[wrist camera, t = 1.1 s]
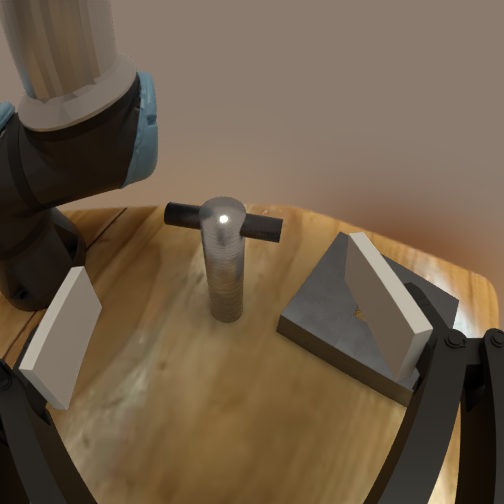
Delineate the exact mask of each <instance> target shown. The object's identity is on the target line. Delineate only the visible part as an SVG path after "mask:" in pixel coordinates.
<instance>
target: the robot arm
mask: <svg viewBox="0 0 504 504" xmlns="http://www.w3.org/2000/svg"><path fill="white" fill-rule="evenodd" d="M0 20H1V24H2V27H3V30H4V34H5V37H6V40H7V43H8V46H9V49H10V52H11V54H12V58H13V60H14V63H15V66H16V68H17V71H18V74H19V76H20V79H21V81H22V84H23V86H24V89H25V92H24V94H23V96H22V99H21V101H20V104H19V107H18V112H17V113H15V112H14V111H15V107H14V106H13V105H12V104H11V103H10V102H5V103H0V290H1V292H2V294H3V295H4V296H5V297H6V299H7V300H8V301H9V302H10V303H11V304H12V305H13V306H15V307H16V308H18V309H21V310H24V311H36V310H40V309H43V308H46V307H48V306H49V308H48V310H47V312H46V313H45V315H44V317H43V319H42V321H41V323H40V324H38V325H37V326H36V327H35V328H34V329H33V330H32V331H31V332H30V334H29V336H28V338H27V340H26V341H27V342H25V344H24V346H23V349H22V350H21V353H20V355H19V357H18V359H17V361H16V363H15V366H14V368H13V370H11V368H10V367H9V366H8V365H7V363H6V362H5V361H4V360H3V359H0V504H30V502H31V504H97V502H96V501H95V499H94V497H93V496H92V494H91V493H90V491H89V489H88V488H87V486H86V484H85V483H84V481H83V479H82V478H81V476H80V474H79V472H78V471H77V469H76V467H75V465H74V463H73V462H72V460H71V458H70V456H69V454H68V452H67V450H66V448H65V446H64V444H63V442H62V440H61V438H60V436H59V433H58V431H57V429H56V427H55V425H54V422H53V420H52V418H51V415H50V413H49V411H48V410H47V408H46V407H45V406H46V403H47V402H48V403H49V404H50V405H51V406H52V407H53V408H54V409H60V410H68V408H69V404H70V400H71V397H72V394H73V390H74V387H75V383H76V380H77V377H78V374H79V371H80V368H81V365H82V361H83V358H84V356H85V353H86V350H87V347H88V344H89V341H90V338H91V336H92V333H93V330H94V327H95V325H96V322H97V319H98V317H99V314H100V312H101V309H102V306H101V304H100V302H99V300H98V298H97V295H96V293H95V291H94V289H93V286H92V284H91V282H90V280H89V277H88V275H87V273H86V270H85V268H84V263H85V258H86V246H85V242H84V240H83V238H82V236H81V234H80V232H79V230H78V228H77V227H76V226H75V224H74V223H72V222H71V221H70V220H69V219H68V218H67V217H66V216H65V215H63V214H62V213H61V212H60V211H59V210H58V209H57V208H56V206H59V205H63V204H66V203H69V202H72V201H76V200H79V199H83V198H86V197H90V196H93V195H97V194H100V193H104V192H107V191H111V190H115V189H122V188H124V187H126V186H127V185H129V184H132V183H135V182H138V181H141V180H144V179H146V178H148V177H149V176H150V175H151V174H152V173H153V171H154V170H155V167H156V164H157V156H158V155H157V154H158V128H157V122H156V118H157V116H156V97H155V89H154V83H153V80H152V77H151V75H150V74H149V73H147V72H137V71H136V65H135V62H134V61H133V59H132V58H131V57H129V56H128V55H126V54H124V53H122V52H119V51H117V50H116V44H115V38H114V30H113V21H112V13H111V4H110V0H0ZM344 280H345V282H346V284H347V286H348V288H349V290H350V292H351V294H352V295H353V297H354V299H355V301H356V303H357V305H358V307H359V309H360V311H361V313H362V315H363V317H364V319H365V321H366V323H367V325H368V327H369V329H370V331H371V333H372V335H373V337H374V339H375V341H376V343H377V345H378V347H379V349H380V351H381V353H382V355H383V357H384V359H385V362H386V364H387V366H388V368H389V370H390V372H391V374H392V377H393V379H394V381H398V380H401V379H404V378H407V377H410V376H412V374H413V372H414V370H415V368H416V369H417V370H418V372H419V374H420V375H419V377H418V378H417V380H416V382H415V384H414V386H413V388H412V390H413V393H412V396H411V399H410V402H409V405H408V408H407V410H406V413H405V416H404V418H403V421H402V423H401V426H400V428H399V431H398V433H397V436H396V438H395V440H394V443H393V445H392V447H391V450H390V452H389V454H388V456H387V458H386V460H385V463H384V465H383V467H382V469H381V471H380V473H379V475H378V477H377V479H376V481H375V483H374V485H373V487H372V488H371V490H370V492H369V494H368V496H367V498H366V499H365V501H364V503H363V504H427V503H428V501H429V499H430V496H431V494H432V491H433V489H434V486H435V484H436V481H437V478H438V476H439V473H440V470H441V467H442V464H443V461H444V458H445V455H446V452H447V449H448V445H449V442H450V439H451V435H452V431H453V428H454V424H455V420H456V416H457V411H458V407H459V403H460V409H461V435H460V459H459V472H458V482H457V491H456V499H455V504H504V332H503V331H501V330H499V329H496V328H492V329H489V330H487V331H486V333H485V335H484V337H483V338H466V336H465V335H464V334H463V333H462V332H460V331H458V330H456V329H449V328H448V326H447V325H446V323H445V322H444V320H443V319H442V317H441V316H440V315H439V313H438V312H437V310H436V309H435V308H434V306H433V305H431V302H430V301H429V299H427V297H426V295H425V294H424V293H423V291H422V290H421V289H420V288H419V287H417V286H416V285H414V284H413V283H412V282H409V283H404V284H402V282H401V281H400V280H399V278H398V277H397V276H396V274H395V273H394V272H393V270H392V269H391V268H390V266H389V265H388V264H387V262H386V261H385V260H384V258H383V257H382V256H381V254H380V253H379V252H378V250H377V249H376V248H375V247H374V245H373V244H372V243H371V242H370V240H369V239H368V238H367V236H366V235H365V234H364V233H363V232H359V233H350V234H349V235H348V247H347V257H346V267H345V276H344Z"/></svg>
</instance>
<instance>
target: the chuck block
mask: <svg viewBox="0 0 504 504" xmlns="http://www.w3.org/2000/svg"><path fill="white" fill-rule="evenodd" d="M347 247H348V235H346V234H344V233H342V232H339V234H338V235H337V237H336V238H335V240H334V241H333V242H332V244H331V245H330V247H329V248H328V250H327V251H326V253H325V254H324V255H323V257H322V258H321V260H320V261H319V263H318V264H317V265H316V267H315V268H314V270H313V271H312V272H311V274H310V275H309V277H308V278H307V279H306V281H305V282H304V284H303V285H302V286H301V288H300V289H299V290H298V292H297V293H296V295H295V296H294V297H293V299H292V300H291V301H290V303H289V304H288V305H287V307H286V308H285V309H284V311H283V312H282V313H281V315H280V319H279V323H278V326H277V330H276V331H277V332H279V333H280V334H282V335H283V336H285V337H287V338H288V339H290V340H291V341H293V342H295V343H296V344H298V345H300V346H301V347H303V348H304V349H306V350H308V351H309V352H311V353H313V354H314V355H316V356H318V357H319V358H321V359H323V360H324V361H326V362H328V363H329V364H331V365H333V366H334V367H336V368H338V369H340V370H341V371H343V372H345V373H346V374H348V375H350V376H352V377H353V378H355V379H357V380H359V381H360V382H362V383H364V384H366V385H367V386H369V387H371V388H373V389H374V390H376V391H378V392H380V393H382V394H383V395H385V396H387V397H389V398H391V399H392V400H394V401H396V402H398V403H400V404H402V405H404V406H405V407H407V408H408V405H409V402H410V399H411V396H412V393H413V390H412V388H413V386H414V384H415V382H416V380H417V378H418V377H419V375H420V374H419V372H418V370H417V369H416V368H415V370H414V372H413V374H412V376H410V377H407V378H404V379H401V380H398V381H394V379H393V377H392V374H391V372H390V370H389V368H388V366H387V364H386V362H385V359H384V357H383V355H382V353H381V351H380V349H379V347H378V345H377V343H376V341H375V339H374V337H373V335H372V333H371V331H370V329H369V327H368V325H367V323H366V322H364V321H363V320H361V319H359V318H357V317H356V316H354V315H353V314H354V313H355V311H356V309H357V307H358V305H357V303H356V301H355V299H354V297H353V295H352V294H351V292H350V290H349V288H348V286H347V284H346V282H345V280H344V276H345V267H346V257H347ZM380 254H381V253H380ZM381 256H382V257H383V258H384V260H385V261H386V262H387V264H388V265H389V266H390V268H391V269H392V270H393V272H394V273H395V274H396V276H397V277H398V278H399V280H400V281H401V282H402V284H404V283H409V282H412V283H413V284H414V285H416V286H417V287H419V288H420V289H421V290H422V291H423V293H424V294H425V295H426V297H427V299H429V301H430V302H431V305H433V306H434V308H435V309H436V310H437V312H438V313H439V315H440V316H441V317H442V319H443V320H444V322H445V323H446V325H447V326H448V328H449V329H452V328H453V325H454V321H455V316H456V312H457V308H458V303H459V300H458V299H456V298H455V297H453V296H451V295H450V294H448V293H447V292H445V291H443V290H442V289H440V288H438V287H437V286H435V285H434V284H432V283H430V282H429V281H427V280H425V279H424V278H422V277H420V276H419V275H417V274H415V273H413V272H412V271H410V270H408V269H407V268H405V267H403V266H401V265H400V264H398V263H396V262H395V261H393V260H391V259H389V258H388V257H386V256H384V255H382V254H381Z"/></svg>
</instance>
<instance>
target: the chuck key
mask: <svg viewBox="0 0 504 504" xmlns="http://www.w3.org/2000/svg"><path fill="white" fill-rule="evenodd" d="M164 221H165V224H167V225H173V226H179V227H186V228H192V229H198V230H201V236H202V244H203V252H204V260H205V267H206V275H207V282H208V289H209V296H210V302H211V309H212V314H213V316H214V317H215V318H216V319H217V320H219V321H221V322H225V323H229V322H233V321H235V320H237V319H238V318H239V317H240V316H241V314H242V310H243V280H244V251H245V237H247V238H253V239H259V240H265V241H271V242H277V243H279V240H280V234H281V228H282V222H283V219H278V218H272V217H266V216H260V215H254V214H248V213H246V209H245V207H244V205H243V204H242V203H241V202H239V201H238V200H236V199H233V198H230V197H217V198H213V199H210V200H208V201H206V202H205V203H204V204H203V205H202V206H194V205H187V204H179V203H172V202H169V203H168V204H167V206H166V208H165V213H164Z"/></svg>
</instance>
